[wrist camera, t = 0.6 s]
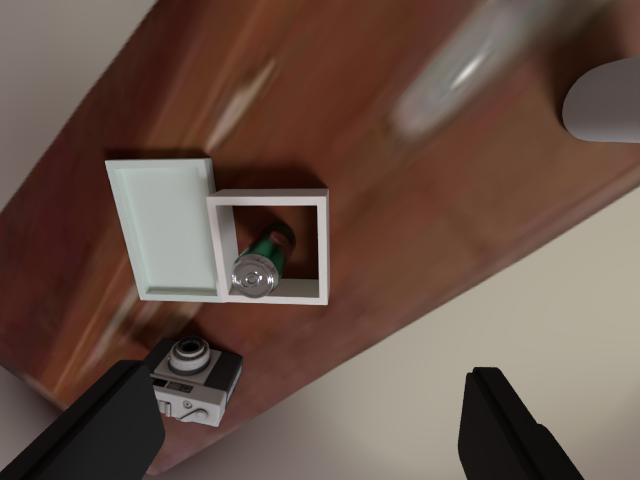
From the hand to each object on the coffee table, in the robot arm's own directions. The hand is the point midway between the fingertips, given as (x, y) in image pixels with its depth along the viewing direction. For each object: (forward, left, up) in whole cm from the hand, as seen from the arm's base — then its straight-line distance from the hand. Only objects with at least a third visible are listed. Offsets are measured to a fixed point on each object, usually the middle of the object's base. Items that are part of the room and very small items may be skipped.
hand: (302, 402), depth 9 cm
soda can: (+6, -8, -32) cm, 33 cm away
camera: (+25, -22, -32) cm, 46 cm away
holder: (+6, -8, -31) cm, 33 cm away
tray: (+5, -23, -31) cm, 39 cm away
